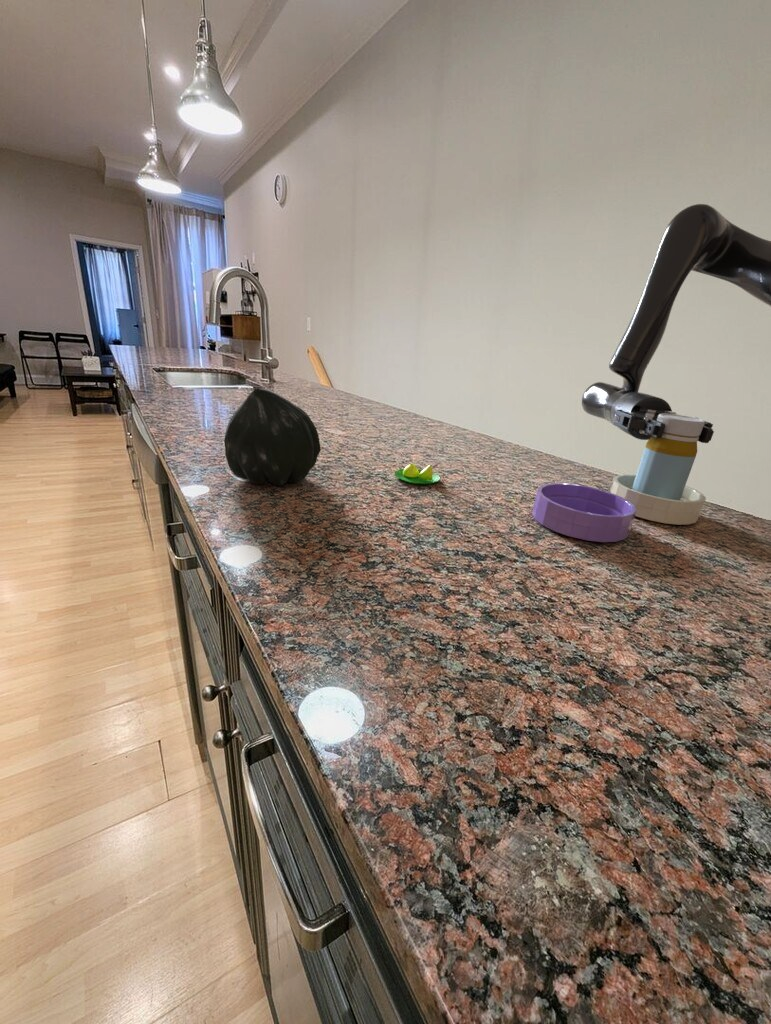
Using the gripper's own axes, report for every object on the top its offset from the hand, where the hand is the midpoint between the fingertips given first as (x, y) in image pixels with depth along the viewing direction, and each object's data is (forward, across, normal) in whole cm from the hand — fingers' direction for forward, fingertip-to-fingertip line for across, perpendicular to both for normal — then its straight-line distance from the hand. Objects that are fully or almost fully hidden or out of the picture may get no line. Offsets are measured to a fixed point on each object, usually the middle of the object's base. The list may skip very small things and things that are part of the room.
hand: (684, 433), depth 67 cm
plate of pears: (-4, -39, +14) cm, 42 cm away
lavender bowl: (+8, -15, +13) cm, 21 cm away
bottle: (-2, 0, +13) cm, 13 cm away
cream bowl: (-2, 0, +13) cm, 14 cm away
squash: (+4, -62, +13) cm, 64 cm away
